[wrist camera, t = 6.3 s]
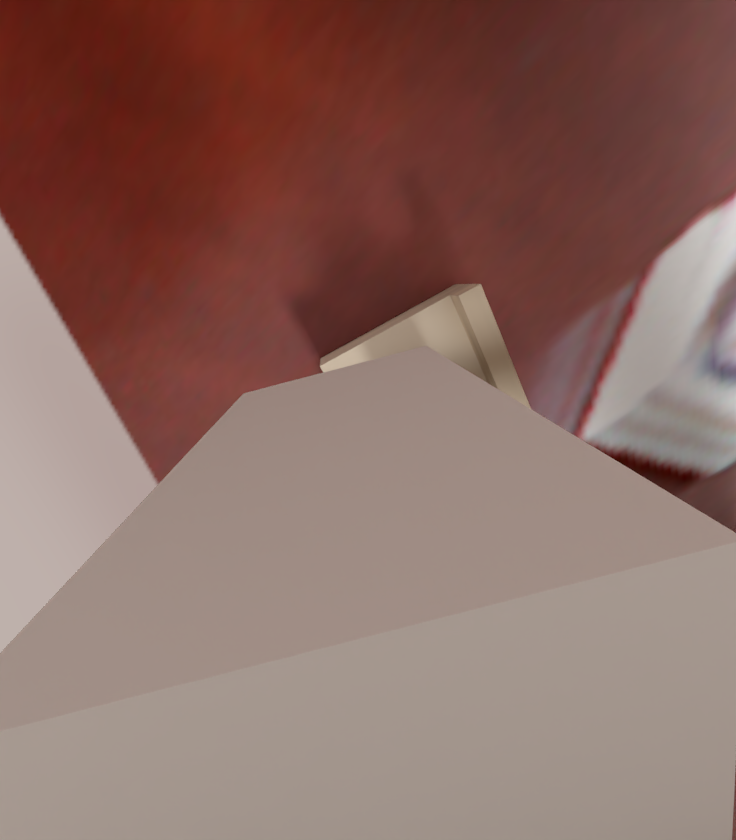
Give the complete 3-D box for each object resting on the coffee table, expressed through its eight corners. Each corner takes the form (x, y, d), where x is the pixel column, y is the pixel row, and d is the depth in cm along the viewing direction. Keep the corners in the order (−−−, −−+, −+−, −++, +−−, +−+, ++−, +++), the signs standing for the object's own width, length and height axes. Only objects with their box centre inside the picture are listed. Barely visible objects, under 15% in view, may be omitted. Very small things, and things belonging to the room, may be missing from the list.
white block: (499, 703, 13) (712, 1245, 6) (364, 737, 13) (399, 1324, 6) (425, 345, 10) (746, 539, 2) (241, 394, 10) (-104, 757, 2)
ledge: (578, 575, 31) (640, 645, 25) (473, 626, 32) (509, 707, 26) (455, 283, 24) (501, 283, 18) (320, 358, 24) (318, 383, 18)
